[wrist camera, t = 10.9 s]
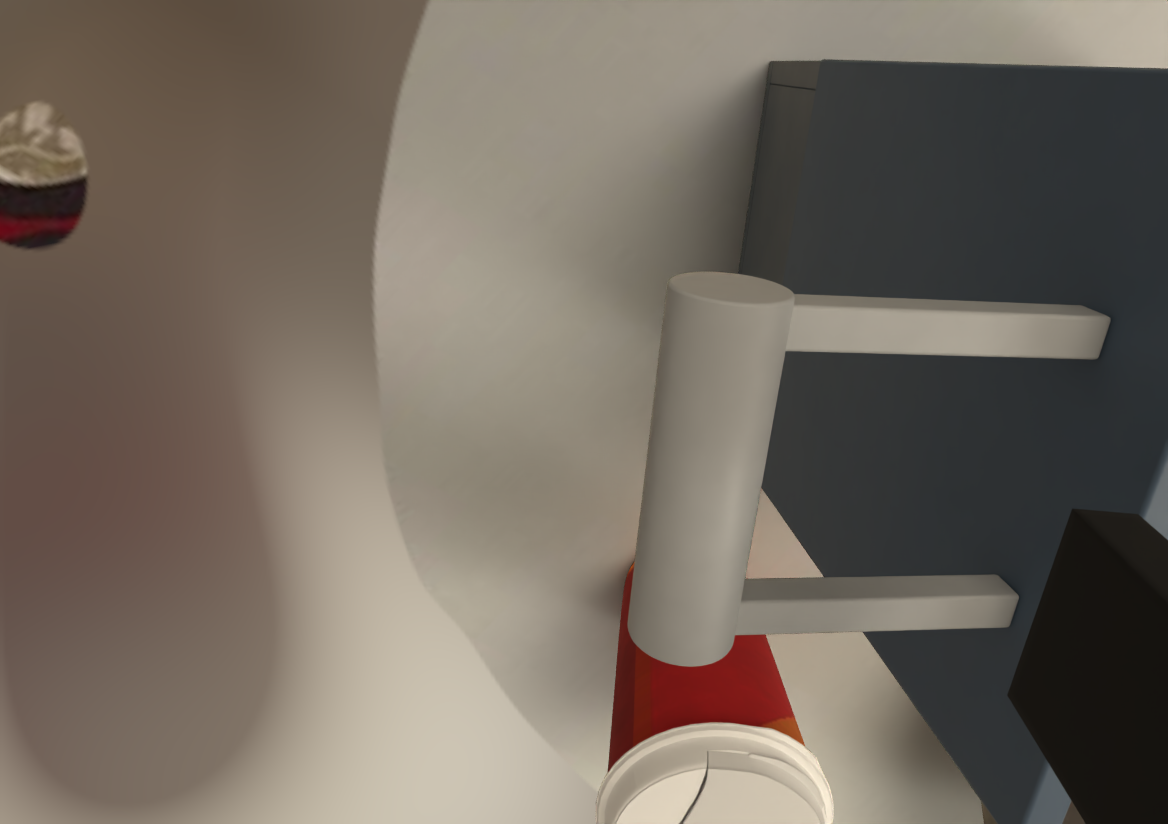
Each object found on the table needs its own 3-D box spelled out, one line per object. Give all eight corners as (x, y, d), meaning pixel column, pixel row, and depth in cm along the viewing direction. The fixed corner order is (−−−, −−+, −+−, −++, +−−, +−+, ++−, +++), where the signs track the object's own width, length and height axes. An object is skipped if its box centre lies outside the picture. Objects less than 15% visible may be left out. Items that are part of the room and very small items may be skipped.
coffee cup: (687, 681, 44) (720, 967, 30) (567, 593, 42) (544, 854, 28) (804, 581, 41) (900, 843, 27) (682, 482, 39) (719, 710, 26)
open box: (1121, 90, 32) (1318, 100, 23) (1029, 393, 37) (1162, 499, 28) (769, 60, 32) (829, 60, 23) (723, 368, 37) (758, 465, 28)
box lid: (1369, 77, 10) (751, 19, 9) (1055, 848, 15) (631, 880, 14) (846, 61, 23) (572, 37, 22) (772, 472, 28) (544, 471, 27)
